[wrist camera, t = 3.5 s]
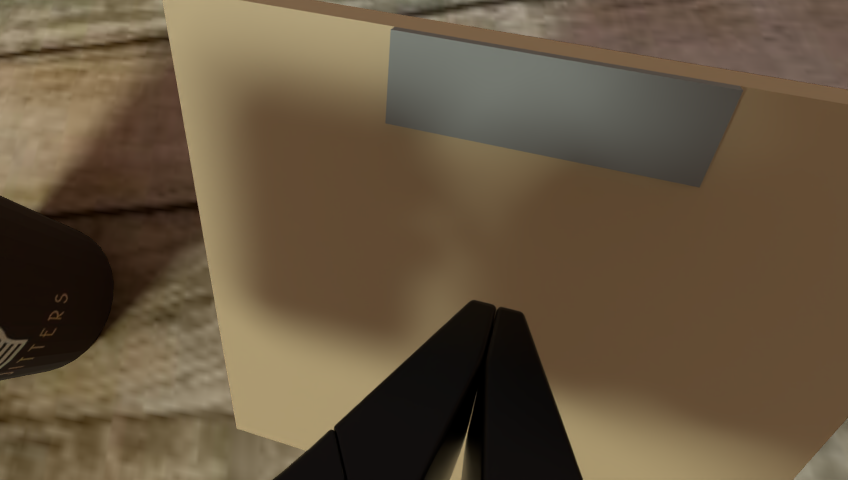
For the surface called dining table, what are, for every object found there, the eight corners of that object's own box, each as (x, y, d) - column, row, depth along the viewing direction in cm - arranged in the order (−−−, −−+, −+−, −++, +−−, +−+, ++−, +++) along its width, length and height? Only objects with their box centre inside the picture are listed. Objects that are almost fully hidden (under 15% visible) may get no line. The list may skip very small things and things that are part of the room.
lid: (700, 547, 14) (706, 586, 13) (251, 407, 16) (232, 434, 16) (1045, 122, 7) (1100, 151, 6) (189, -21, 9) (152, -12, 9)
